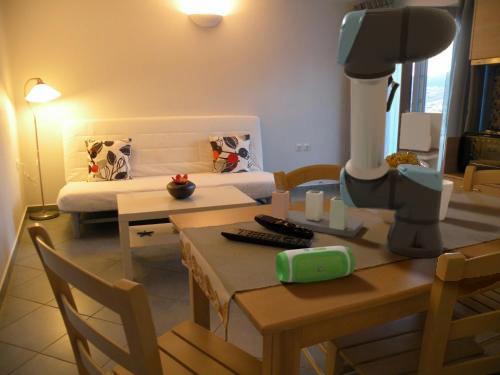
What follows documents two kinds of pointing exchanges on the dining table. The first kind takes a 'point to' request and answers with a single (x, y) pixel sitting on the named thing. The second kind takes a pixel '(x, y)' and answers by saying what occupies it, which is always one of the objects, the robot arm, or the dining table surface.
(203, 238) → the dining table surface
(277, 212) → the pink rectangular block
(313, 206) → the white upright block
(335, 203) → the pale green block
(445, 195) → the foam cup
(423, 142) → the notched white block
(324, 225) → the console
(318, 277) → the speaker
